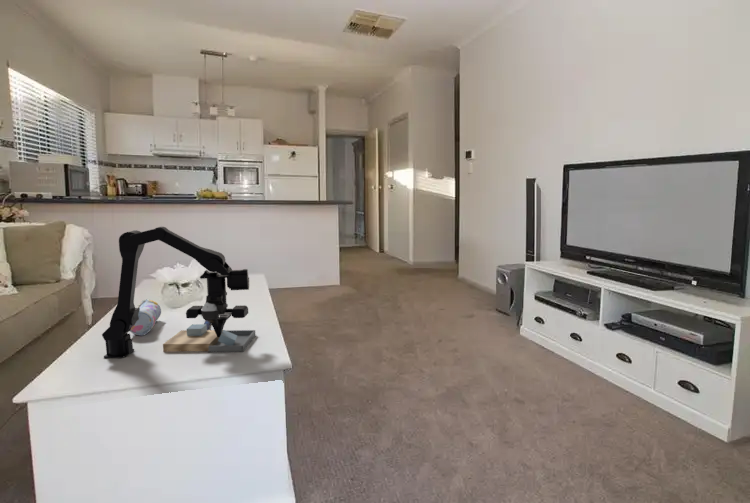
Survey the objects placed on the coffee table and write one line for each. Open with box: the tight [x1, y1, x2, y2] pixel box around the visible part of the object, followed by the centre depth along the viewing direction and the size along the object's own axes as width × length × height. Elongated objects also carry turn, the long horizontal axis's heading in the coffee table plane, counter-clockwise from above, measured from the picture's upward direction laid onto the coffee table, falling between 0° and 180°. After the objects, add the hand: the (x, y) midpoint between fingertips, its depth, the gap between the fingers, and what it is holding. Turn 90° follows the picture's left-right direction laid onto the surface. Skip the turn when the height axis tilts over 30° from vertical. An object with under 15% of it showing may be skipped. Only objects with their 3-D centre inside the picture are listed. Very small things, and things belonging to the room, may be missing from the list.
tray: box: [207, 329, 256, 353], centre depth 148 cm, size 11×16×2 cm
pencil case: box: [129, 298, 162, 336], centre depth 164 cm, size 21×9×10 cm, turn 18°
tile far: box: [186, 323, 207, 336], centre depth 151 cm, size 5×5×2 cm
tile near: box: [218, 329, 237, 346], centre depth 145 cm, size 5×5×2 cm
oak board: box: [162, 329, 224, 353], centre depth 148 cm, size 15×14×2 cm
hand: (219, 336), depth 144 cm, fingers closed
